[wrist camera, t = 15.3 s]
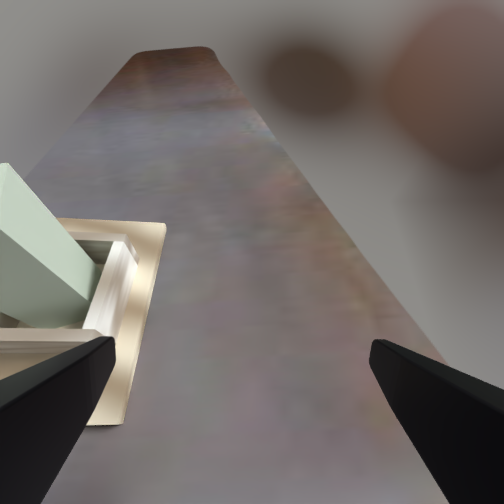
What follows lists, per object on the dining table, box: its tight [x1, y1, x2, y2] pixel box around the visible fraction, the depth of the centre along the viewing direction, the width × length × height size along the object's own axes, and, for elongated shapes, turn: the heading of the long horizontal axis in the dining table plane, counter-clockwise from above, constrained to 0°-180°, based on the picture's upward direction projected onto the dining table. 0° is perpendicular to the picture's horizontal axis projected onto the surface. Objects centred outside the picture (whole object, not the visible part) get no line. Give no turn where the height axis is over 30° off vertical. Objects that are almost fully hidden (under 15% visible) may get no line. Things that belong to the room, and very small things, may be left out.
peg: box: [0, 163, 102, 329], centre depth 16 cm, size 4×4×12 cm
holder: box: [0, 218, 166, 425], centre depth 20 cm, size 18×12×5 cm, turn 1°
